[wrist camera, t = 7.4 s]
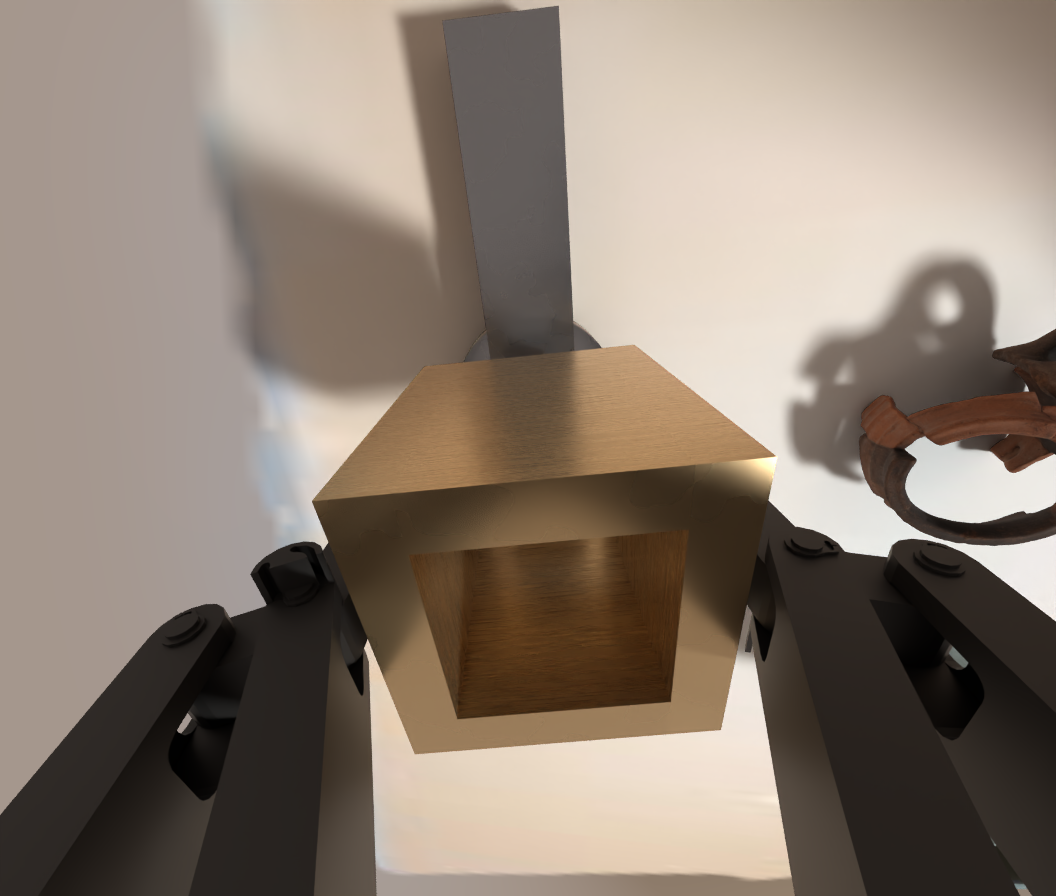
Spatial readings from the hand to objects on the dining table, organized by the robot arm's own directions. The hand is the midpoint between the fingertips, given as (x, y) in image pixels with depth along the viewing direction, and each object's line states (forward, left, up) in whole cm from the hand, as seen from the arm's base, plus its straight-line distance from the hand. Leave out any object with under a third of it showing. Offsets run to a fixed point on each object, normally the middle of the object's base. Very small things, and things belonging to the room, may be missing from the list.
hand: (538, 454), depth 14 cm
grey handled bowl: (0, -6, -8) cm, 10 cm away
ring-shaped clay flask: (-23, +4, -8) cm, 25 cm away
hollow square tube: (0, 0, 0) cm, 0 cm away
